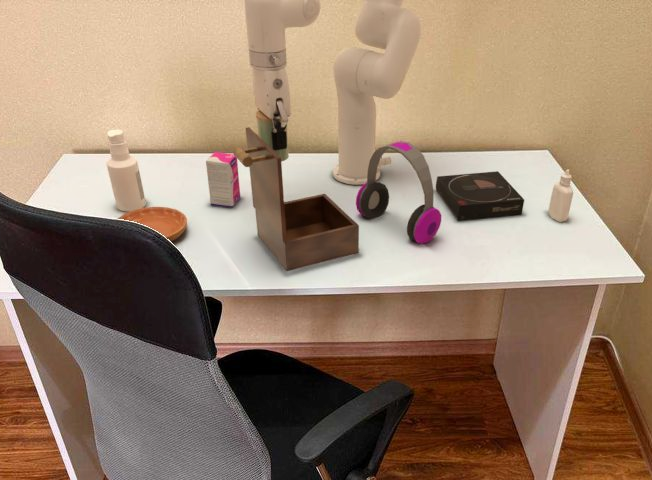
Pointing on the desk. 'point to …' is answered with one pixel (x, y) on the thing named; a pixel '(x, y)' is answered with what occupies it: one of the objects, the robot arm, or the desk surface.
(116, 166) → the spray bottle
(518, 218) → the desk surface
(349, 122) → the robot arm
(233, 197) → the supplement box
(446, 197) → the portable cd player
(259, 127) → the canister
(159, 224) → the saucer
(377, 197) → the headphones
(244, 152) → the lid
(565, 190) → the eye dropper bottle
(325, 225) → the chest
